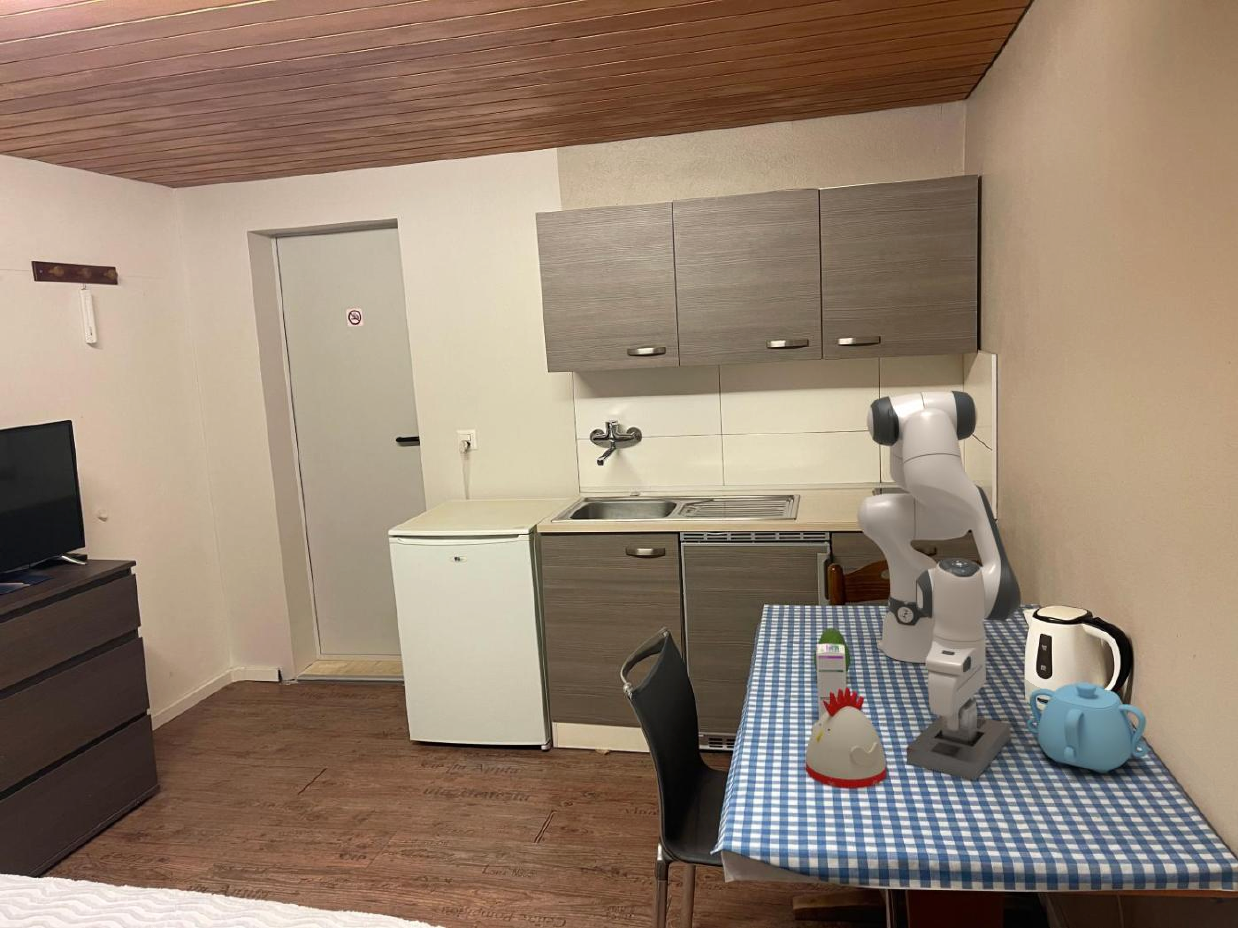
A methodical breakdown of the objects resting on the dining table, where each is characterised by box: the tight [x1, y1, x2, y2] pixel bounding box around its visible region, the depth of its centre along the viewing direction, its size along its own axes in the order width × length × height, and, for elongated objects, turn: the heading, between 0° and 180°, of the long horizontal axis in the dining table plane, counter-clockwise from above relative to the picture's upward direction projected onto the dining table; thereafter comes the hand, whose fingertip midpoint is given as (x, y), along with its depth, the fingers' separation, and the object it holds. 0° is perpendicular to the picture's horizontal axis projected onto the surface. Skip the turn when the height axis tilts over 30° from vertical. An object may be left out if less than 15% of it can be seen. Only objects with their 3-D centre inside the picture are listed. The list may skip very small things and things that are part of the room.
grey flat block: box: [906, 715, 1011, 782], centre depth 165 cm, size 20×12×3 cm, turn 141°
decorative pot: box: [1026, 681, 1149, 774], centre depth 160 cm, size 16×16×14 cm
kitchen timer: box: [805, 686, 887, 789], centre depth 160 cm, size 14×14×15 cm
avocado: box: [813, 627, 851, 674], centre depth 203 cm, size 8×8×12 cm
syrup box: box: [815, 643, 848, 720], centre depth 182 cm, size 6×6×14 cm
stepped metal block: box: [942, 700, 978, 746], centre depth 165 cm, size 4×5×7 cm
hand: (959, 723), depth 165 cm, fingers closed on stepped metal block, 4 cm apart
